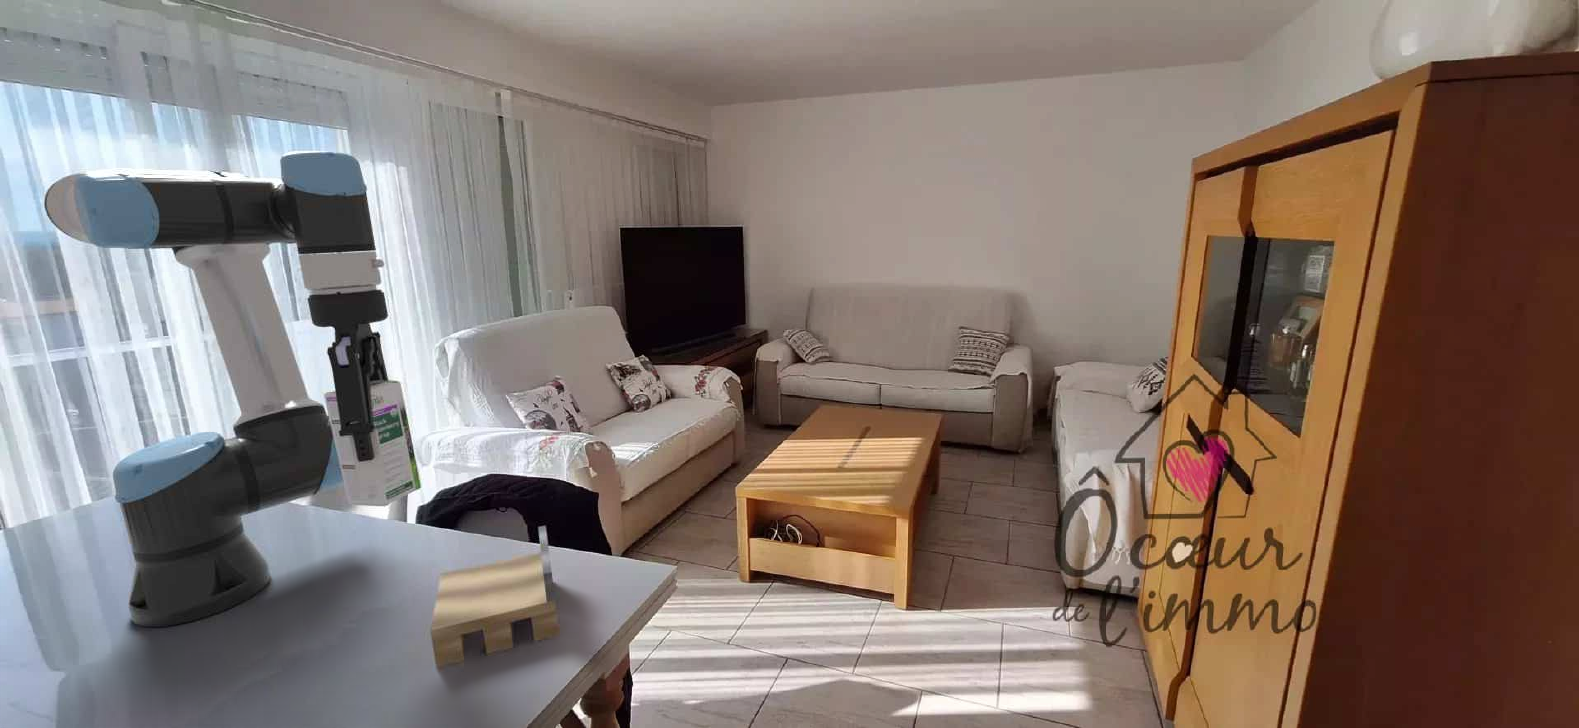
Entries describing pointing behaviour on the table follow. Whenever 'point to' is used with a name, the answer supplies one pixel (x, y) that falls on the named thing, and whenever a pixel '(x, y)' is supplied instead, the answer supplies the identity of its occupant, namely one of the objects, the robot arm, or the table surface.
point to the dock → (494, 603)
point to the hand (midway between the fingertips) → (380, 472)
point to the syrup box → (393, 446)
